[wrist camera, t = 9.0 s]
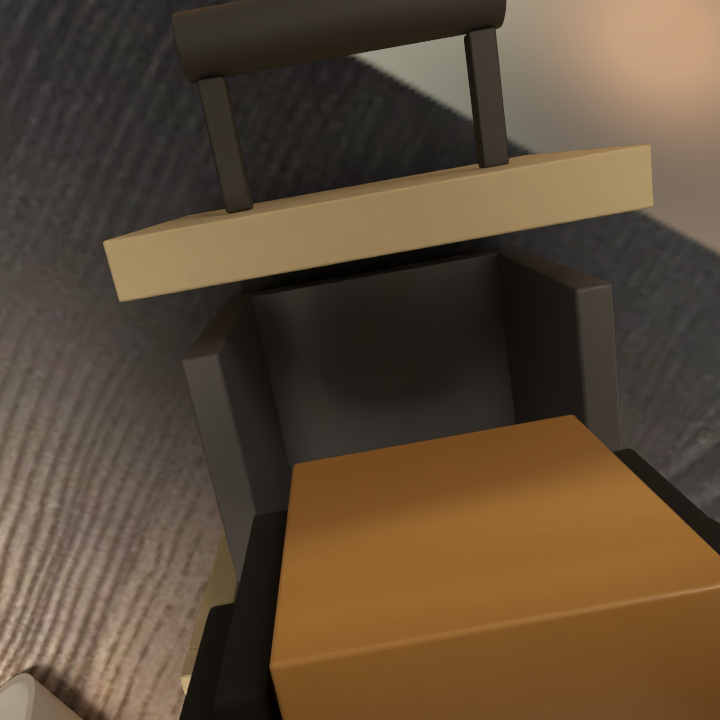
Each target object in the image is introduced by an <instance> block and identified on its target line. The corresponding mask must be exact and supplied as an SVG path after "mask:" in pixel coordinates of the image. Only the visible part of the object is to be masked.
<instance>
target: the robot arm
mask: <svg viewBox="0 0 720 720" xmlns="http://www.w3.org/2000/svg"><path fill="white" fill-rule="evenodd" d="M612 453H614V454H615V455H616V456H617V457H618V458H619V459H620V460H621V461H622V462H623V463H624V464H625V465H626V466H627V467H628V468H629V469H630V470H631V471H632V472H633V473H634V474H635V475H636V476H637V477H638V478H640V479H641V480H642V481H643V482H644V483H645V484H646V485H647V486H648V487H649V488H650V489H651V490H652V491H653V492H654V493H655V494H656V495H657V496H658V497H659V498H660V499H661V500H662V501H663V502H664V503H666V504H667V505H668V506H669V507H670V508H671V509H672V510H673V511H674V512H675V513H676V514H677V515H678V516H679V517H680V518H681V519H682V520H683V521H684V522H685V523H686V524H687V525H688V526H689V527H691V528H692V529H693V530H694V531H695V532H696V533H697V534H698V535H699V536H700V537H701V538H702V539H703V540H704V541H705V542H706V543H707V544H708V545H709V546H710V547H711V548H712V549H713V550H714V551H715V552H717V553H718V554H719V555H720V524H719V523H718V522H716V521H715V520H713V519H710V518H709V517H708V516H706V515H705V514H704V513H703V512H702V511H701V510H700V509H699V508H697V507H696V506H695V505H694V504H693V503H692V502H691V501H690V500H688V499H687V498H686V497H685V496H684V495H683V494H682V493H681V492H679V491H678V490H677V489H676V488H675V487H674V486H673V485H672V484H670V483H669V482H668V481H667V480H666V479H665V478H664V477H663V476H662V475H660V474H659V473H658V472H657V471H656V470H655V469H654V468H653V467H651V466H650V465H649V464H648V463H647V462H646V461H645V460H644V459H642V458H641V457H640V456H639V455H638V454H637V453H636V452H635V451H633V450H632V449H630V448H629V449H623V450H618V451H612ZM287 514H288V510H282V511H277V512H271V513H266V514H260V515H255V516H254V518H253V523H252V527H251V532H250V537H249V541H248V546H247V550H246V555H245V560H244V564H243V569H242V574H241V578H240V583H239V588H238V592H237V597H236V601H235V603H229V604H223V605H218V606H213V607H212V608H211V609H210V611H209V613H208V616H207V620H206V623H205V627H204V631H203V634H202V638H201V642H200V645H199V649H198V653H197V656H196V660H195V664H194V667H193V671H192V675H191V678H190V682H189V686H188V690H187V693H186V697H185V701H184V704H183V708H182V712H181V715H180V719H179V720H282V716H281V712H280V708H279V704H278V700H277V696H276V692H275V688H274V684H273V680H272V676H271V672H270V668H269V666H270V658H271V649H272V641H273V632H274V624H275V616H276V607H277V599H278V590H279V582H280V573H281V565H282V556H283V548H284V539H285V531H286V523H287Z"/></svg>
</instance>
